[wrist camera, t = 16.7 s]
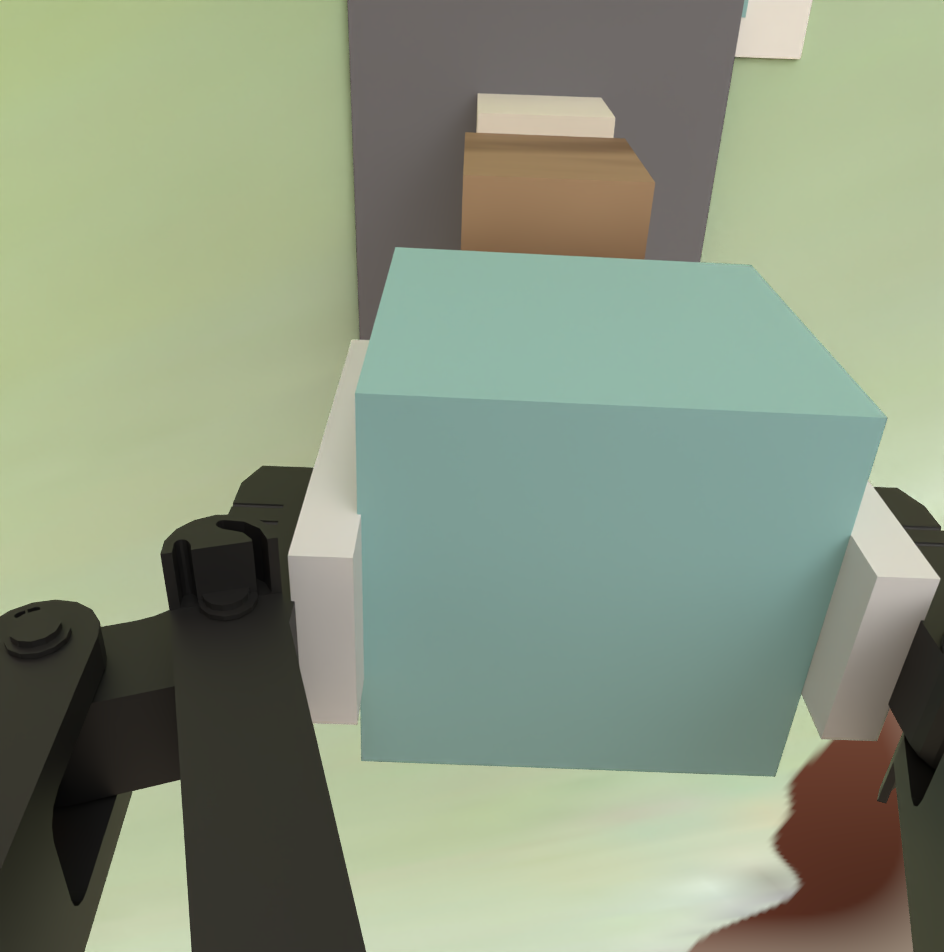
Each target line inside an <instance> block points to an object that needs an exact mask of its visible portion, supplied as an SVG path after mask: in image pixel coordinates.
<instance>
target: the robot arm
mask: <svg viewBox="0 0 944 952" xmlns="http://www.w3.org/2000/svg"><path fill="white" fill-rule="evenodd" d="M369 341H370V340H352V339H351V343H350V346H349V350H348V353H347V356H346V360H345V363H344V366H343V370H342V373H341V377H340V380H339V383H338V387H337V390H336V394H335V397H334V400H333V404H332V407H331V411H330V414H329V417H328V421H327V424H326V427H325V431H324V434H323V438H322V441H321V444H320V448H319V451H318V455H317V458H316V461H315V465H314V468H306V467H280V466H262V467H260V468H259V469H258V470H257V471H255V472H254V473H253V474H252V475H251V476H249V477H248V478H247V479H246V480H244V481H243V482H242V483H241V485H240V488H239V490H238V493H237V495H236V497H235V500H234V502H233V507H231V509H230V512H229V514H228V515H214V516H210V517H206V518H201V519H197V520H194V521H192V522H190V523H188V524H186V525H184V526H182V527H180V528H178V529H176V530H175V531H174V532H173V533H172V534H171V535H170V536H169V537H168V538H167V539H166V540H165V541H164V544H163V547H162V551H161V560H162V566H163V573H164V579H165V585H166V591H167V597H168V603H169V609H170V610H168V611H166V612H163V613H161V614H159V615H156V616H153V617H149V618H145V619H141V620H137V621H132V622H127V623H121V624H116V625H110V626H105V627H101V626H100V621H99V620H98V618H97V617H96V615H95V613H94V612H93V610H92V609H90V608H88V607H86V606H84V605H82V604H80V603H78V602H71V601H63V600H50V601H42V602H35V603H31V604H28V605H25V606H22V607H19V608H16V609H13V610H10V611H8V612H7V613H5V614H4V615H2V616H0V952H84V951H85V948H86V944H87V941H88V938H89V934H90V931H91V928H92V924H93V921H94V918H95V914H96V911H97V908H98V904H99V901H100V898H101V894H102V891H103V888H104V885H105V881H106V878H107V875H108V871H109V868H110V865H111V861H112V858H113V855H114V851H115V848H116V845H117V841H118V838H119V835H120V831H121V828H122V825H123V821H124V818H125V815H126V811H127V808H128V805H129V801H130V798H131V795H132V791H135V790H139V789H143V788H147V787H151V786H156V785H160V784H164V783H168V782H172V781H177V780H181V793H182V808H183V824H184V839H185V855H186V870H187V886H188V901H189V917H190V932H191V947H192V952H366V950H365V945H364V941H363V937H362V933H361V928H360V924H359V920H358V916H357V911H356V907H355V903H354V898H353V894H352V890H351V886H350V881H349V877H348V873H347V868H346V864H345V860H344V856H343V851H342V847H341V843H340V838H339V834H338V830H337V826H336V821H335V817H334V813H333V808H332V804H331V800H330V796H329V791H328V787H327V783H326V778H325V774H324V770H323V766H322V761H321V757H320V753H319V748H318V744H317V740H316V736H315V731H314V727H313V723H321V724H353V725H357V724H358V717H359V710H360V703H361V696H362V689H363V682H364V646H363V594H362V541H361V515H359V514H357V482H356V425H355V391H356V388H357V384H358V380H359V377H360V373H361V370H362V366H363V362H364V359H365V355H366V352H367V348H368V344H369ZM801 694H802V696H803V699H804V701H805V703H806V706H807V708H808V710H809V712H810V715H811V717H812V719H813V722H814V724H815V726H816V728H817V731H818V733H819V735H820V738H821V739H834V740H865V741H867V740H868V741H877V739H878V737H879V734H880V732H881V729H882V726H883V724H884V721H885V719H886V716H887V714H888V711H889V709H891V711H892V713H893V714H894V716H895V718H896V720H897V722H898V723H899V725H900V727H901V729H902V731H903V733H902V736H901V738H900V741H899V743H898V746H897V748H896V750H895V753H894V755H893V758H892V760H891V763H890V765H889V767H888V770H887V772H886V775H885V777H884V780H883V782H882V784H881V787H880V790H879V795H878V800H877V801H879V802H882V803H886V802H887V800H888V798H889V795H890V792H891V791H892V789H894V788H896V790H897V800H898V809H899V819H900V828H901V838H902V847H903V857H904V866H905V876H906V885H907V895H908V904H909V913H910V923H911V932H912V942H913V951H914V952H944V531H941V526H940V525H939V524H938V523H937V521H936V520H935V519H934V518H933V516H932V515H931V514H930V513H929V511H928V510H927V509H926V507H925V506H923V505H922V504H920V503H919V502H917V501H916V500H914V499H913V498H911V497H910V496H908V495H907V494H906V493H904V492H903V491H901V490H900V489H898V488H886V487H873V486H872V485H871V483H870V482H869V480H868V482H867V485H866V488H865V492H864V495H863V498H862V501H861V504H860V508H859V511H858V514H857V517H856V520H855V523H854V527H853V530H852V533H851V536H850V539H849V542H848V545H847V549H846V552H845V555H844V558H843V562H842V565H841V568H840V571H839V575H838V578H837V581H836V584H835V587H834V591H833V594H832V597H831V600H830V603H829V606H828V610H827V613H826V616H825V619H824V622H823V626H822V629H821V632H820V635H819V638H818V642H817V645H816V648H815V651H814V654H813V658H812V661H811V664H810V667H809V670H808V674H807V677H806V680H805V683H804V686H803V690H802V693H801Z"/></svg>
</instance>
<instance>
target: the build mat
mask: <svg viewBox="0 0 944 952" xmlns="http://www.w3.org/2000/svg"><path fill="white" fill-rule="evenodd" d="M743 5H744V0H348V27H349V55H350V82H351V110H352V137H353V165H354V192H355V220H356V247H357V275H358V302H359V330H360V340H370V337H371V334H372V330H373V326H374V323H375V319H376V316H377V312H378V308H379V305H380V301H381V298H382V294H383V290H384V287H385V283H386V280H387V276H388V272H389V269H390V265H391V262H392V258H393V254H394V251H395V247H403V248H422V249H442V250H461V228H462V196H463V168H464V147H465V132H473V133H498V134H523V135H549V136H574V137H599V138H625V139H626V141H627V142H628V144H629V145H630V147H631V148H632V149H633V151H634V152H635V154H636V155H637V157H638V158H639V160H640V161H641V163H642V164H643V165H644V167H645V168H646V170H647V171H648V173H649V174H650V176H651V177H652V179H653V180H654V181H655V188H654V195H653V202H652V209H651V216H650V224H649V231H648V238H647V245H646V252H645V259H644V260H662V261H682V262H700V259H701V253H702V247H703V241H704V235H705V229H706V223H707V218H708V212H709V206H710V200H711V194H712V188H713V182H714V176H715V170H716V164H717V159H718V153H719V147H720V141H721V135H722V129H723V123H724V117H725V111H726V106H727V100H728V94H729V88H730V82H731V76H732V70H733V64H734V58H735V52H736V47H737V41H738V35H739V29H740V23H741V17H742V11H743Z"/></svg>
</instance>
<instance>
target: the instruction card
mask: <svg viewBox="0 0 944 952" xmlns="http://www.w3.org/2000/svg"><path fill="white" fill-rule="evenodd" d="M811 5H812V0H744V5H743V11H742V17H741V23H740V29H739V35H738V41H737V47H736V52H735V57H753V58H781V59H801V54H802V49H803V44H804V39H805V34H806V29H807V25H808V20H809V15H810V10H811Z"/></svg>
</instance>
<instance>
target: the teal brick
mask: <svg viewBox="0 0 944 952" xmlns="http://www.w3.org/2000/svg"><path fill="white" fill-rule="evenodd" d="M886 421H887V417H886V416H885V414H884V413H883V412H882V411H881V410H880V409H879V408H878V407H877V405H876V404H875V403H874V402H873V401H872V400H871V399H870V398H869V397H868V395H867V394H866V393H865V392H864V391H863V390H862V389H861V388H860V386H859V385H858V384H857V383H856V382H855V381H854V380H853V379H852V377H851V376H850V375H849V374H848V373H847V372H846V371H845V370H844V368H843V367H842V366H841V365H840V364H839V363H838V362H837V361H836V360H835V358H834V357H833V356H832V355H831V354H830V353H829V352H828V351H827V349H826V348H825V347H824V346H823V345H822V344H821V343H820V342H819V340H818V339H817V338H816V337H815V336H814V335H813V334H812V333H811V332H810V330H809V329H808V328H807V327H806V326H805V325H804V324H803V323H802V321H801V320H800V319H799V318H798V317H797V316H796V315H795V314H794V312H793V311H792V310H791V309H790V308H789V307H788V306H787V305H786V303H785V302H784V301H783V300H782V299H781V298H780V297H779V296H778V295H777V293H776V292H775V291H774V290H773V289H772V288H771V287H770V286H769V284H768V283H767V282H766V281H765V280H764V279H763V278H762V277H761V275H760V274H759V273H758V272H757V271H756V270H755V269H754V268H753V266H752V265H742V264H722V263H702V262H682V261H662V260H642V259H622V258H602V257H582V256H562V255H542V254H522V253H502V252H482V251H462V250H442V249H422V248H403V247H395V251H394V254H393V258H392V262H391V265H390V269H389V272H388V276H387V280H386V283H385V287H384V290H383V294H382V298H381V301H380V305H379V308H378V312H377V316H376V319H375V323H374V326H373V330H372V334H371V337H370V341H369V344H368V348H367V352H366V355H365V359H364V362H363V366H362V370H361V373H360V377H359V380H358V384H357V388H356V391H355V425H356V482H357V514H359V515H361V541H362V594H363V646H364V682H363V689H362V696H361V703H360V710H361V761H377V762H404V763H430V764H457V765H483V766H509V767H536V768H562V769H589V770H615V771H641V772H668V773H694V774H721V775H747V776H773V777H775V776H776V773H777V769H778V766H779V763H780V760H781V757H782V753H783V750H784V747H785V744H786V741H787V737H788V734H789V731H790V728H791V725H792V721H793V718H794V715H795V712H796V709H797V705H798V702H799V699H800V696H801V693H802V690H803V686H804V683H805V680H806V677H807V674H808V670H809V667H810V664H811V661H812V658H813V654H814V651H815V648H816V645H817V642H818V638H819V635H820V632H821V629H822V626H823V622H824V619H825V616H826V613H827V610H828V606H829V603H830V600H831V597H832V594H833V591H834V587H835V584H836V581H837V578H838V575H839V571H840V568H841V565H842V562H843V558H844V555H845V552H846V549H847V545H848V542H849V539H850V536H851V533H852V530H853V527H854V523H855V520H856V517H857V514H858V511H859V508H860V504H861V501H862V498H863V495H864V492H865V488H866V485H867V482H868V479H869V476H870V472H871V469H872V466H873V463H874V460H875V456H876V453H877V450H878V447H879V444H880V440H881V437H882V434H883V431H884V428H885V424H886Z"/></svg>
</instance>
